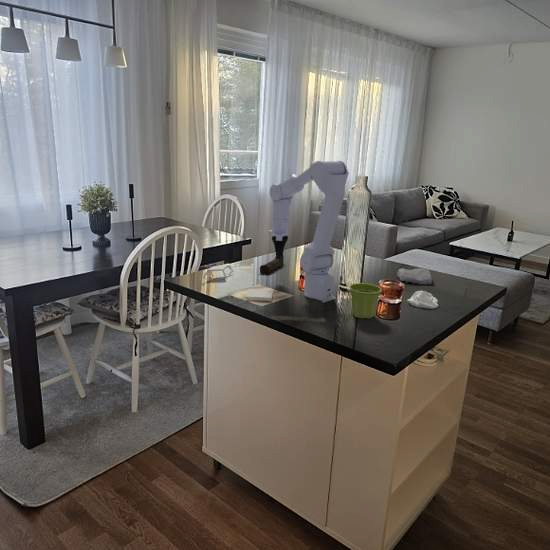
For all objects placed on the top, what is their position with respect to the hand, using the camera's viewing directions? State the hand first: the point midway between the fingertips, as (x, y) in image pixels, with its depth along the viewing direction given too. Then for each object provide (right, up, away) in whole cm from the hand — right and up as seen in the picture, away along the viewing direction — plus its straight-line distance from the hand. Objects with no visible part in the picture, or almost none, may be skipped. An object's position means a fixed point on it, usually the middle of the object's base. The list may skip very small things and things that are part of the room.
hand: (279, 256), depth 172 cm
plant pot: (+25, -19, -28) cm, 42 cm away
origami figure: (-21, -9, +3) cm, 23 cm away
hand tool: (-2, -4, +20) cm, 20 cm away
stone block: (+51, -9, +10) cm, 53 cm away
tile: (-6, -12, -14) cm, 19 cm away
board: (-6, -14, -15) cm, 21 cm away
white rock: (+46, -16, -16) cm, 52 cm away
